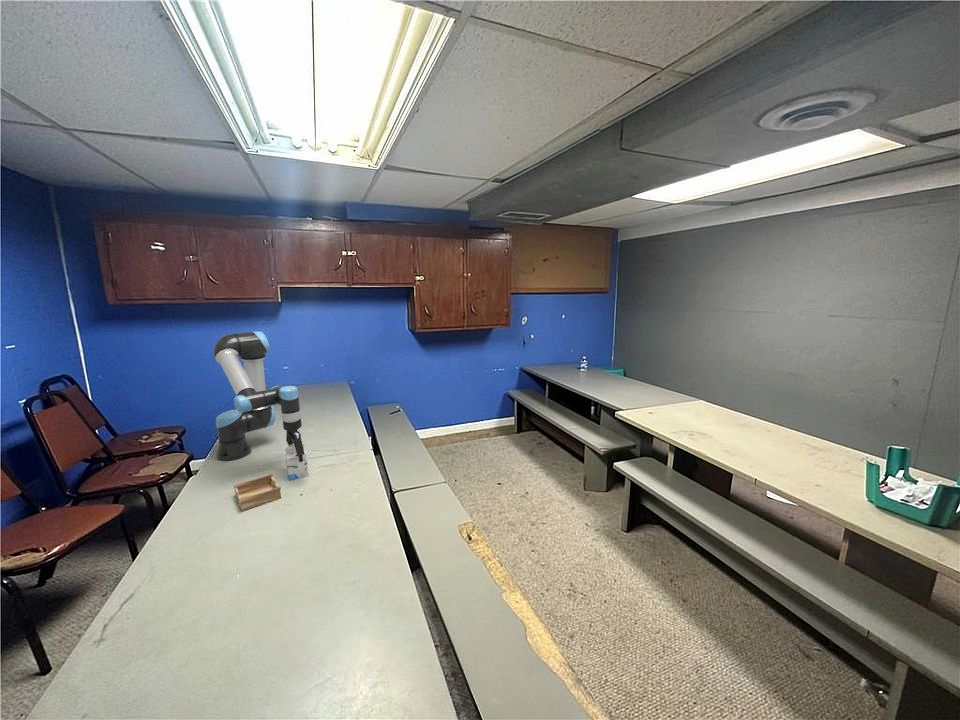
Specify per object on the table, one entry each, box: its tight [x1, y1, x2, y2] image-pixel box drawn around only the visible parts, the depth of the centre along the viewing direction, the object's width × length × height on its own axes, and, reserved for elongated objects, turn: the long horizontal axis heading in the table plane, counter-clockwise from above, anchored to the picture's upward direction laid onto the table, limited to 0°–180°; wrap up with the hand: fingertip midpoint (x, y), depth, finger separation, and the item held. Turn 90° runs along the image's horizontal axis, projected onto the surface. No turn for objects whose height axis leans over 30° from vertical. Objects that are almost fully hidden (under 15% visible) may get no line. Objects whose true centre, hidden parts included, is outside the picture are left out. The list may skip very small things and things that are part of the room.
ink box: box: [284, 443, 309, 481], centre depth 173 cm, size 8×5×15 cm, turn 123°
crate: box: [233, 473, 282, 513], centre depth 157 cm, size 15×15×5 cm
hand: (296, 462), depth 172 cm, fingers open, 13 cm apart
